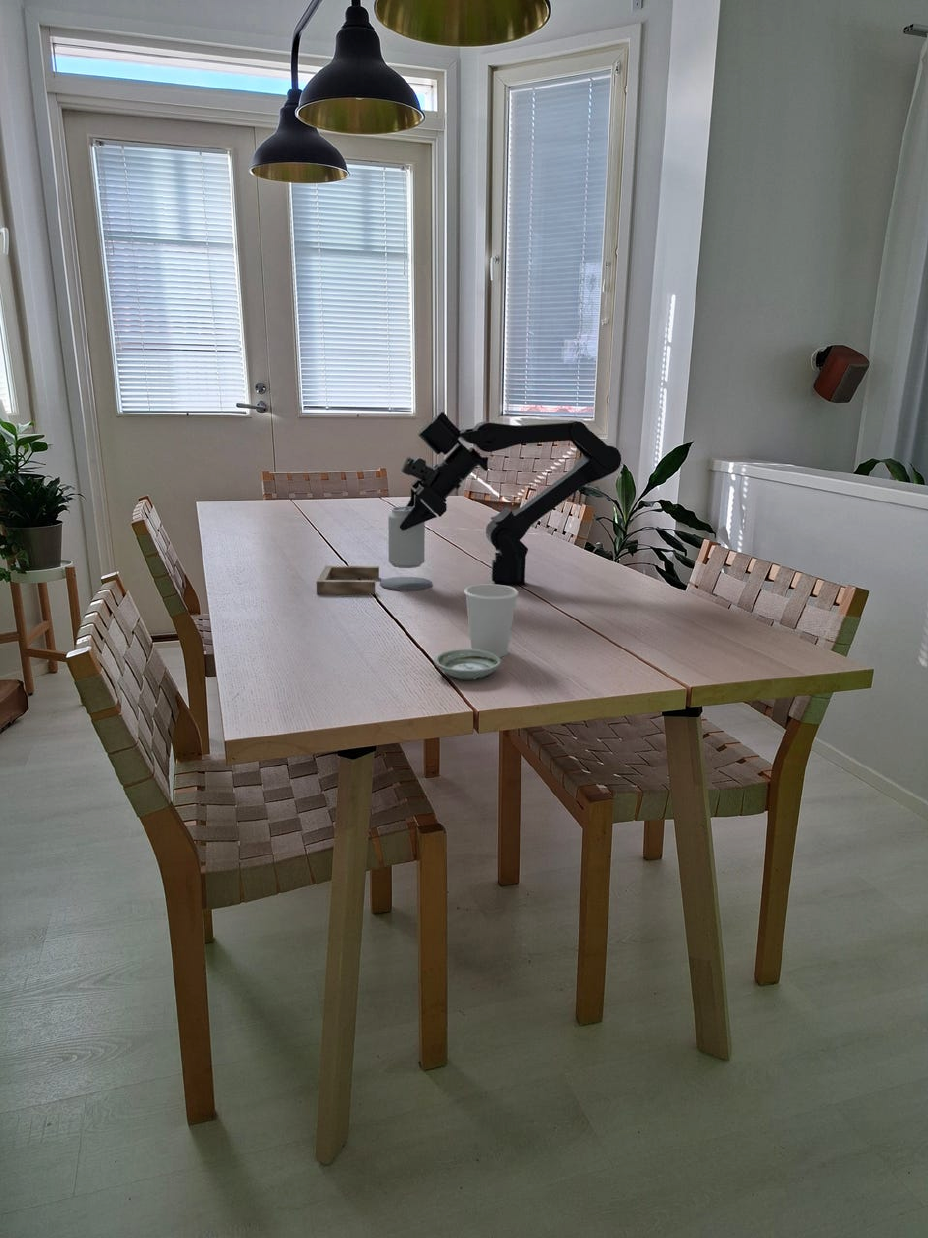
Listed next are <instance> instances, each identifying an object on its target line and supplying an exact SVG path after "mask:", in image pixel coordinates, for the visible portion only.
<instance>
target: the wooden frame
mask: <svg viewBox="0 0 928 1238" xmlns="http://www.w3.org/2000/svg"><path fill="white" fill-rule="evenodd" d="M379 578H380V566H379V565H378V566H377V565H325V566H324V567H323V570H322V572H321V573H320V575H319V577H318V579H317V580H316V594H318V595H376V580H379Z"/></svg>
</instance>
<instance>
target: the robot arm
mask: <svg viewBox="0 0 928 1238" xmlns="http://www.w3.org/2000/svg"><path fill="white" fill-rule="evenodd" d="M417 436H418V437H419V438H420V439H421V440H422V441H423V443H425V444H426V445H427V447H429V448H430V449H431V450H432V451H433V452H434V453H435V455H437V456H438V455H440V454H443V455H444V456H446V455H447V454H448V453H449V454H448V455H447V457H446V458H445V459H444V460H442V462H440V463H438V464H437V463H435V465H433V467H432V466H430V465H427V463H426V460H425V459H423V458H421V457H417V458H416V459H414V458H412V457H411V456H407V457H406V459H405V461H404V464H402V465H403V466H402V468H401V472H402V473H403V474H405V475H407V476H412V477H414V478H416V479H415V480H414V481H413V482H412V483H411V484H410V486H411V487H409V490H410V492H409V493H410V497H409V500H408V502H407V504H406V505H405V507H413V508H412V509H411V511H410V512H409V513H408V515H407V516H406V518H405V519H404V521H403V522H402V524H401V525H400V529H401V530H403V531H404V530H406V529H409V528H411V527H413V526H416V525H418V524H421V523H423V522H425V523H426V522H428V521H430V520H433V519H436V518H438V517H442V516H443V515H444V514H445V513H446V512H447V508H448V506H447V503H446V502H447V498H448V497H450V495H451V494H452V493H453V492H454V491H456V489H457V490H458V489H460V487H461V486H462V485H461V484H462V483H463V482H464V480H466V479H467V478H468V477H469V476H470V474H472V473H473V472H474V470H475V469H477V467H480V468H481V469H482V470H483V471H485V472H488V470H489V466H488V463H489V462H488V461H489V457H487V456H483V455H481V454H480V453H479V452H478V451H477V450H476V449H475V448H474V447H476V448H477V449H478V450H481V451H482V452H486V453H492V452H495V451H496V452H497V451H500V450H505V449H507V448H511V447H514V446H517V445H526V444H541V443H542V444H543V443H554V442H556V443H557V442H569V441H570V442H571V443H572V444H573V445H574V446H575V448H576V449H577V450H578V451H579V452H580V453H581V454H582V455H581V456H580V458H579V459H578V461H577V462H576V463H575V465H574V466H573V468H571V469H570V470H569V471H568V472H566V473H564V474H563V475H562V476H561V477H559V478H558V479H556V481H554V482H553V483H551V484H550V485H549V486H548V487H546V488H545V489H543V490H542V491H541V492H540V493H538V494H536V496H534V497H532V499H530V500H528V502H526V503H525V504H523V505H522V506H520V507H519V508H518V509H517V508H516V509H514V510H511V509H510V508H508V507H504V508H503V509H502V510H501V511H500V512H499V513H498V514H496V515H494V516H491V517H490V520H491V521H490V522H489V523H488V524H487V525H486V529H485V534H486V536H485V537H486V538H487V540H488V541H489V543H491V545H492V546H493V547H494V549H495V551H496V552H495V553H494V559H492V560H491V581H492V582H493V583H494V584H495V585H504V586H509V587H513V586H514V587H520V586H521V587H525V586H527V583H526V581H525V579H526V560H527V559H526V556H527V553H528V552H529V548H528V547H527V546H526V545H525V544H524V543H523V542H522V541H521V540H522V539H523V537H524V536H525V535H526V534H527V532H528V531H529V530H530V528H531V527H532V525H533V524H535V523H536V522H538V521H539V520H540V519H541V518H543V517H544V516H546V515H547V514H548V513H549V512H551V511H552V510H554V509H555V508H557V506H559V505H560V504H561V503H563V502H565V500H567V499H569V498H570V497H571V496H572V495H574V494H575V493H576V492H578V491H579V490H580V489H582V488H583V487H585V486H586V485H588V484H591V483H594V482H595V481H596V482H597V481H599V480H602V479H603V478H605V477H607V476H609V475H612V474H613V473H616V472H617V470H618V469H619V468H620V467H621V462H622V455H621V452H620V450H619V449H618V448H617V447H616V446H613V445H609V444H606V443H605V442H604V441H603V440H602V439H601V438H600V437H598V436H597V435H596V434H595V433H594V432H593V431H591V430H590V428H588V427H587V426H586V424H585V423H584V422H582V421H579V420H578V421H577V420H571V421H565V422H549V423H535V424H534V423H533V424H532V423H531V424H519V425H518V424H516V425H515V424H507V423H500V422H490V421H481V422H478V423H476V424H475V425H474V426H473V428H468V429H465V428H462V429H461V430H459V428H457V426H456V425H455V424H454V423H453V422H452V421H451V420H450V418H449V417H448V416H447V414H445V412H443V411H440V412H439V413H438V414H437V415H436V416H435V417H433V418H432V419H431V420H430V421H428V422H427V423H426V424H424V426H423V427H422V428H421V429H420V431H419V432H418V433H417ZM459 439H461V441H462V442H461V441H460V440H459ZM463 441H464V442H465V443H468V444H472V445H473V446H474V447H470V448H467V447H466V446H465V444H463ZM455 446H456V447H455ZM413 488H414V489H413Z"/></svg>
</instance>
